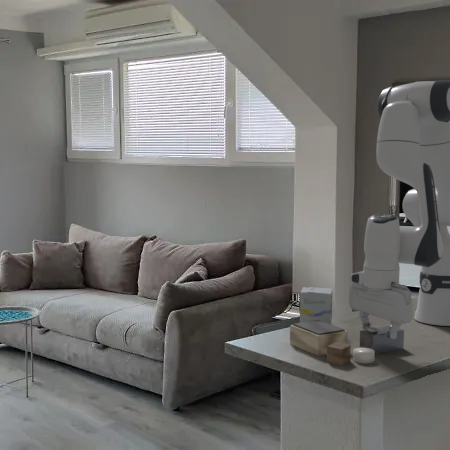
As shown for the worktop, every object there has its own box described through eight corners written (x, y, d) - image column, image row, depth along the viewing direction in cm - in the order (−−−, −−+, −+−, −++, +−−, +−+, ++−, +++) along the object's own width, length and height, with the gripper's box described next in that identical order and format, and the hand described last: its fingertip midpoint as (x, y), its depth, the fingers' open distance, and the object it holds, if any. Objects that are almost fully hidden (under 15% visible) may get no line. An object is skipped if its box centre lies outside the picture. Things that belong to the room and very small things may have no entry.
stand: (318, 339, 184) (318, 319, 184) (347, 350, 174) (347, 329, 173) (290, 344, 180) (290, 323, 179) (318, 356, 169) (318, 334, 169)
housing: (389, 344, 180) (390, 321, 179) (403, 349, 176) (404, 326, 175) (359, 350, 175) (360, 326, 174) (373, 355, 171) (373, 331, 170)
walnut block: (335, 358, 168) (336, 342, 167) (350, 361, 165) (350, 345, 165) (326, 362, 165) (327, 345, 164) (341, 365, 162) (341, 349, 162)
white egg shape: (364, 356, 169) (365, 346, 169) (378, 362, 165) (379, 351, 165) (348, 359, 167) (348, 349, 167) (362, 365, 163) (362, 354, 162)
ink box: (330, 336, 187) (331, 293, 186) (298, 334, 189) (299, 291, 188) (332, 328, 196) (333, 286, 194) (301, 326, 197) (302, 285, 196)
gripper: (420, 285, 166) (418, 342, 167) (364, 272, 184) (362, 323, 185) (400, 287, 163) (398, 345, 164) (345, 274, 181) (343, 326, 182)
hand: (378, 333), depth 175 cm, fingers open, 8 cm apart
